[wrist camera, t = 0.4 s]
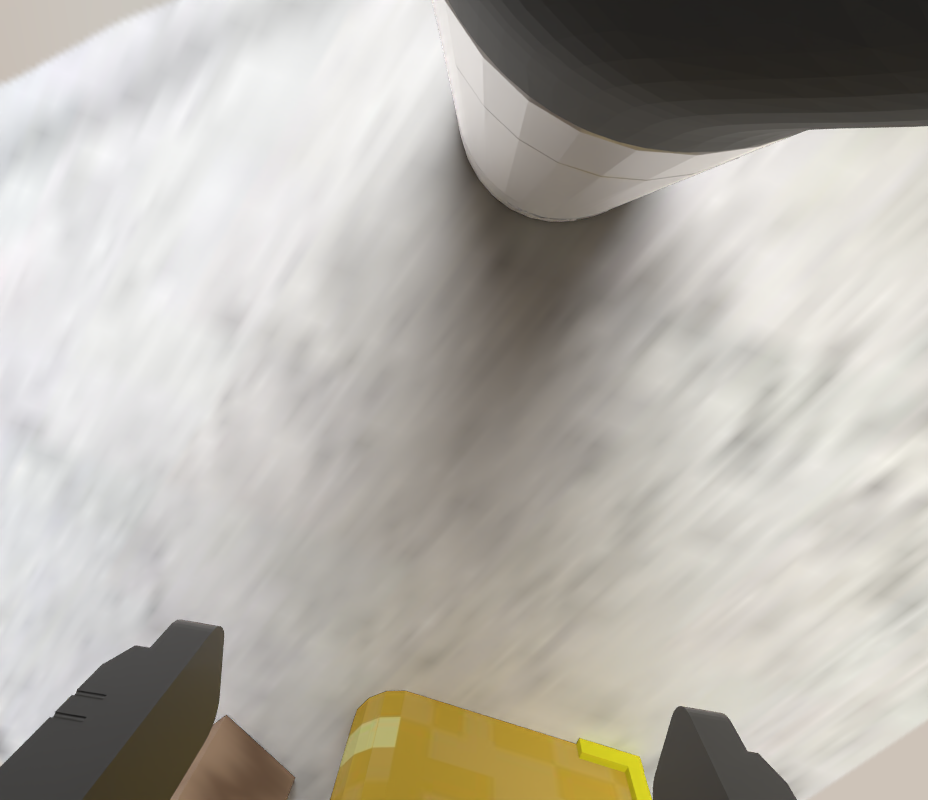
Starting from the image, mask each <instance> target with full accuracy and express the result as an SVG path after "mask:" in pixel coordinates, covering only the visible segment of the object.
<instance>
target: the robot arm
mask: <svg viewBox="0 0 928 800" xmlns="http://www.w3.org/2000/svg"><path fill="white" fill-rule="evenodd" d="M432 4H433V9H434V13H435V17H436V20H437V25H438V30H439V34H440V39H441V44H442V48H443V53H444V58H445V63H446V67H447V72H448V77H449V82H450V86H451V91H452V96H453V100H454V105H455V110H456V116H457V121H458V125H459V130H460V134H461V139H462V142H463V145H464V148H465V151H466V154H467V158H468V161H469V162H470V164H471V166H472V168H473V170H474V171H475V173H476V175H477V177H478V179H479V180H480V181H481V183H482V184H483V185H484V186H485V187H486V188H487V189H488V191H489V192H490V193H491V194H492V195H493V196H494V197H495V198H496V199H498V200H499V201H500V202H502V203H503V204H504V205H506V206H507V207H508V208H510V209H512V210H514V211H516V212H518V213H521V214H523V215H525V216H527V217H529V218H534V219H539V220H544V221H549V222H561V221H575V220H580V219H584V218H590V217H593V216H596V215H599V214H602V213H605V212H607V211H608V210H609V209H612V208H615V207H617V206H620V205H622V204H625V203H627V202H630V201H632V200H635V199H637V198H640V197H642V196H645V195H647V194H650V193H652V192H655V191H657V190H660V189H662V188H665V187H667V186H670V185H672V184H675V183H677V182H680V181H682V180H685V179H687V178H690V177H692V176H695V175H697V174H700V173H702V172H704V171H707V170H709V169H712V168H714V167H717V166H719V165H722V164H724V163H727V162H729V161H732V160H734V159H737V158H739V157H741V156H743V155H746V154H748V153H751V152H753V151H756V150H758V149H761V148H763V147H766V146H768V145H771V144H773V143H776V142H778V141H781V140H783V139H786V138H788V137H791V136H793V135H796V134H798V133H801V132H803V131H806V130H812V129H836V128H878V127H917V126H928V0H432ZM223 645H224V631H223V628H222V627H221V626H215V625H209V624H203V623H197V622H191V621H185V620H176V621H175V622H173V623H172V624H171V625H170V626H169V627H168V629H167V630H166V631H165V632H164V633H163V634H162V635H161V636H160V637H159V638H158V640H157V641H156V642H155V643H154V644H153V645H152V646H151V647H150V648H147V647H141V646H134V647H132V648H130V649H129V650H127V651H125V652H123V653H122V654H120V655H118V656H116V657H115V658H113V659H111V660H109V661H108V662H106V663H104V664H102V665H101V666H100V667H99V668H98V669H97V670H96V671H95V672H94V673H93V674H92V675H91V676H90V677H89V678H88V679H87V680H86V681H85V682H84V683H83V684H82V685H81V686H80V687H79V688H78V689H77V692H76V694H75V695H72V696H71V697H70V698H69V699H68V700H67V701H66V702H65V703H64V704H63V705H62V706H61V707H60V708H59V709H58V710H57V711H56V712H55V715H54V717H53V718H51V717H50V718H49V719H48V720H47V721H46V722H45V723H44V724H43V725H42V726H41V727H40V728H39V729H38V730H37V731H36V732H35V733H34V734H33V735H32V736H31V737H30V738H29V739H28V740H27V741H26V742H25V743H24V744H23V745H22V746H21V747H20V748H19V749H18V750H17V751H16V752H15V753H14V754H13V755H12V756H11V757H10V758H9V759H8V760H7V761H6V762H5V763H4V764H3V765H2V766H1V767H0V800H170V799H171V797H172V796H173V794H174V792H175V791H176V789H177V788H178V786H179V784H180V783H181V781H182V779H183V778H184V776H185V774H186V773H187V771H188V769H189V768H190V766H191V764H192V763H193V761H194V759H195V758H196V756H197V754H198V753H199V751H200V750H201V748H202V746H203V745H204V743H205V741H206V739H207V737H208V735H209V733H210V731H211V728H212V726H213V723H214V720H215V717H216V713H217V709H218V704H219V696H220V683H221V671H222V658H223ZM653 800H797V799H796V797H795V796H794V794H793V792H792V791H791V789H790V787H789V786H788V784H787V783H786V782H785V781H784V780H783V779H782V777H781V776H780V775H779V774H778V773H777V772H776V771H775V770H774V769H773V768H772V767H771V766H770V765H769V764H768V763H767V762H766V761H765V760H764V759H763V758H762V757H761V756H760V755H759V754H758V753H754V752H748V751H747V750H746V748H745V746H744V744H743V743H742V741H741V739H740V737H739V735H738V734H737V732H736V730H735V728H734V726H733V725H732V723H731V721H730V720H729V718H728V717H727V716H726V715H725V714H722V713H718V712H712V711H706V710H700V709H694V708H688V707H682V706H679V707H677V708H676V709H675V711H674V713H673V715H672V718H671V722H670V725H669V728H668V732H667V735H666V739H665V742H664V746H663V749H662V752H661V756H660V759H659V763H658V766H657V770H656V773H655V777H654V783H653Z"/></svg>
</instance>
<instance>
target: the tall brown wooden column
mask: <svg viewBox="0 0 928 800" xmlns="http://www.w3.org/2000/svg"><path fill="white" fill-rule="evenodd" d="M294 779H295V777H294V776H293V775H292V774H291V773H289V772H288V771H287V770H286V769H285V768H284V767H283V766H282V765H281V764H280V763H279V762H277V761H276V760H275V759H274V758H273V757H272V756H271V755H270V754H269V753H268V752H266V751H265V750H264V749H263V748H262V747H261V746H260V745H259V744H258V743H257V742H255V741H254V740H253V739H252V738H251V737H250V736H249V735H248V734H247V733H246V732H244V731H243V730H242V729H241V728H240V727H239V726H238V725H237V724H236V723H235V722H234V721H232V720H231V719H230V718H229V717H228V716H227V715H226V716H224V717H223V718H222V719H220V720H219V721H218V722H216V723H215V724H213V726H212V728H211V731H210V733H209V735H208V737H207V739H206V741H205V743H204V745H203V746H202V748H201V750H200V751H199V753H198V754H197V756H196V758H195V759H194V761H193V763H192V764H191V766H190V768H189V769H188V771H187V773H186V774H185V776H184V778H183V779H182V781H181V783H180V784H179V786H178V788H177V789H176V791H175V792H174V794H173V796H172V797H171V799H170V800H287V797H288V795H289V792H290V789H291V787H292V784H293V781H294Z"/></svg>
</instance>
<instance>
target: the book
mask: <svg viewBox="0 0 928 800" xmlns="http://www.w3.org/2000/svg"><path fill="white" fill-rule="evenodd" d="M330 800H652V798H651V794H650V791H649V788H648V784H647V781H646V778H645V774H644V769H643V766H642V763H641V759H640V757H639V756H635V755H632V754H629V753H626V752H623V751H619V750H616V749H613V748H610V747H607V746H603V745H600V744H597V743H594V742H591V741H587V740H584V739H581V738H579V740H578V742H577V744H574V743H571V742H568V741H565V740H562V739H558V738H555V737H552V736H549V735H546V734H542V733H539V732H536V731H533V730H530V729H526V728H523V727H520V726H517V725H513V724H510V723H507V722H504V721H501V720H497V719H494V718H491V717H488V716H485V715H481V714H478V713H475V712H472V711H469V710H465V709H462V708H459V707H456V706H452V705H449V704H446V703H443V702H440V701H436V700H433V699H430V698H427V697H424V696H420V695H417V694H414V693H411V692H408V691H385V692H383V693H380V694H378V695H375V696H373V697H370V698H368V699H367V700H366V701H365V702H364V703H363V704H362V705H361V706H360V707H359V708H358V709H357V712H356V714H355V717H354V720H353V723H352V726H351V730H350V733H349V737H348V740H347V743H346V747H345V750H344V754H343V757H342V761H341V764H340V768H339V771H338V774H337V778H336V781H335V785H334V788H333V792H332V795H331V798H330Z"/></svg>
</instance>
